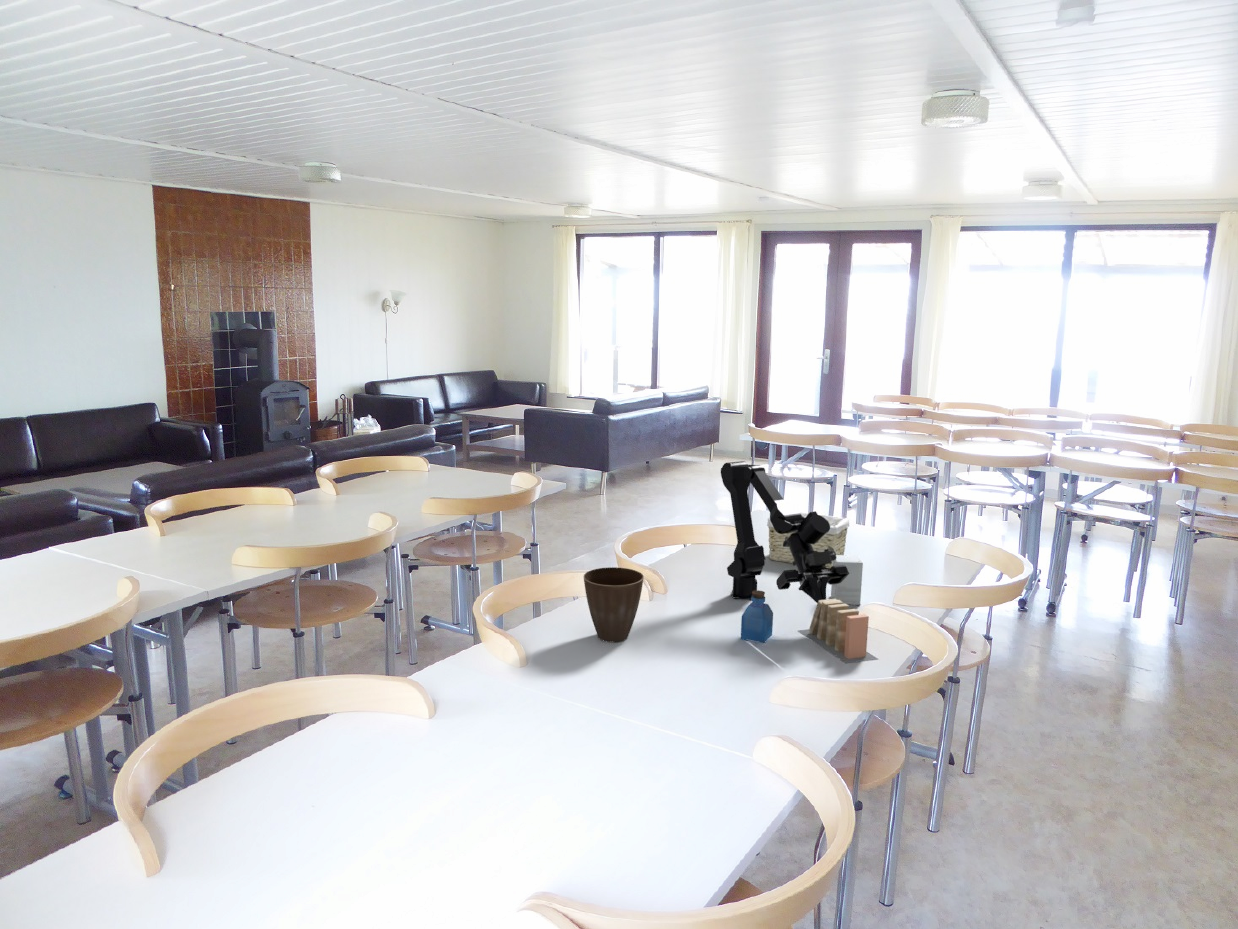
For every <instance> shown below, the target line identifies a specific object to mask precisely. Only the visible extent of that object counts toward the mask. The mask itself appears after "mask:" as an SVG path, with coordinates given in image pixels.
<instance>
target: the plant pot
mask: <svg viewBox="0 0 1238 929" xmlns="http://www.w3.org/2000/svg"><path fill="white" fill-rule="evenodd" d="M644 578H645V577H644V575H643V573H641V572H640V571H638V570H635V569H631V568H627V567H617V566H616V567H615V566H614V567H613V566H612V567H601V568H599V567H598V568H595V569H591V570H589V571H586V572H585V573H584V574H583V583H584V589H585V590H584V591H585V596H586V602H587V606H588V609H589V614H590V617H591V620H592V624H593V625H594V626H593V627H594V629H595V632H596V635H597V637H598V639H599V638H600V640H601V641H603V640H604V641H603V642H606V641H607V642H606V643H619V642H624V641H626V640H627V639H628V637H629V634H630V633H631V629H632V628H633V625H634V621H635V618H636V615H637V612H638V609H639V605H640V600H641V596H642V590H643V584H644Z"/></svg>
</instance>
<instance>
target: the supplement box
mask: <svg viewBox="0 0 1238 929" xmlns="http://www.w3.org/2000/svg"><path fill="white" fill-rule="evenodd" d="M838 565H844V566H846V567H847V568H848V571H849V575H848V576H847V577H846V578H845V579H844V580H843V581H842V582H841V583H839V584H832V585H830V586H831V588H830V597H831V599H836V600H840V601H842V602H843V604H847V605H849V606H851V605H855V606H856V605H857V606H860V605H861V598H862V585H863V584H862V582H863V567H864V564H863V561H862V559H861V558H860V557H859V556H858V555H845V554H844V555H836V560H833V566H838Z"/></svg>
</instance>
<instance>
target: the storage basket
mask: <svg viewBox="0 0 1238 929" xmlns="http://www.w3.org/2000/svg"><path fill="white" fill-rule="evenodd" d="M799 513H800V514H801V515H802V516H803V517H805V518H806V517H807V515H808V514H809V513H810V512H804V511H799ZM819 515H820V516H822V517H824V518H825V519H826V520H827V521H828V522H829V524H830V530H829V531H828V532H827V533H826V534H825V535H824V536H823V537H822V538H821V539H820V540H819V541H818V542H817V543H815V544H812V547H813V549H814V551H818V552H824V550H825V549H827V548H833V549H834V551H835V553H836V555H845V550H846V543H847V542H846V541H847V533H848V528H849V527H850V519H849V518H847V517H841V516H840V517H839V516H833V515H826V514H825V515H824V514H819ZM766 523H767V524H766V526H767V527H768V548H769V550H768V551H769V552H768V553H769V560H771V561H775V562H782V563H788V564H792V562H793V561H794V559H793V556H792V553H791V551H790V548H789V547H783V542H784V541H785V537H789V536H790V535H791V534H792V533H786V534H779V533H777V532H776V531H775V529H774V527H773V525H772V523H771V521H770V516H769V517H768V518H767V522H766ZM793 533H794V532H793ZM832 566H833V561H832V564H826V568H825V569H830V568H831V567H832Z"/></svg>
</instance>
